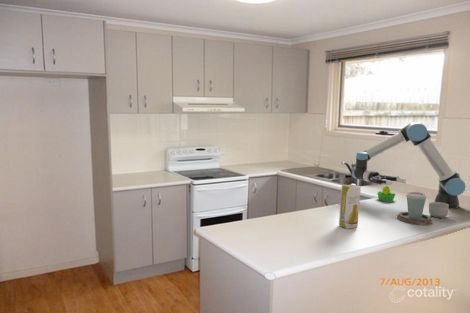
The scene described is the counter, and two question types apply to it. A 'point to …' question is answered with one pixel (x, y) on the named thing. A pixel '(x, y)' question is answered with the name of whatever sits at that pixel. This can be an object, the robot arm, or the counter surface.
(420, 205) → the disposable coffee cup
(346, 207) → the juice carton
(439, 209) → the teacup
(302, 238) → the counter surface
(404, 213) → the ring board
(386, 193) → the fruit basket
